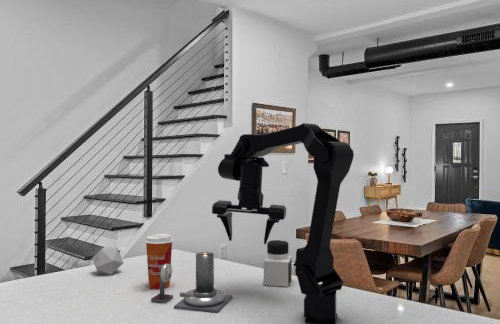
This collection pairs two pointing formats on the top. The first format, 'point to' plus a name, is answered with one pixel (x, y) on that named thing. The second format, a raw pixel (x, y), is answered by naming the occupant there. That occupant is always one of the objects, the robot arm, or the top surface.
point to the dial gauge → (164, 277)
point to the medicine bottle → (277, 264)
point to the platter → (195, 301)
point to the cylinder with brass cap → (204, 275)
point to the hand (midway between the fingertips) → (247, 242)
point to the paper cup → (158, 257)
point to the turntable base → (204, 308)
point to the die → (107, 260)
